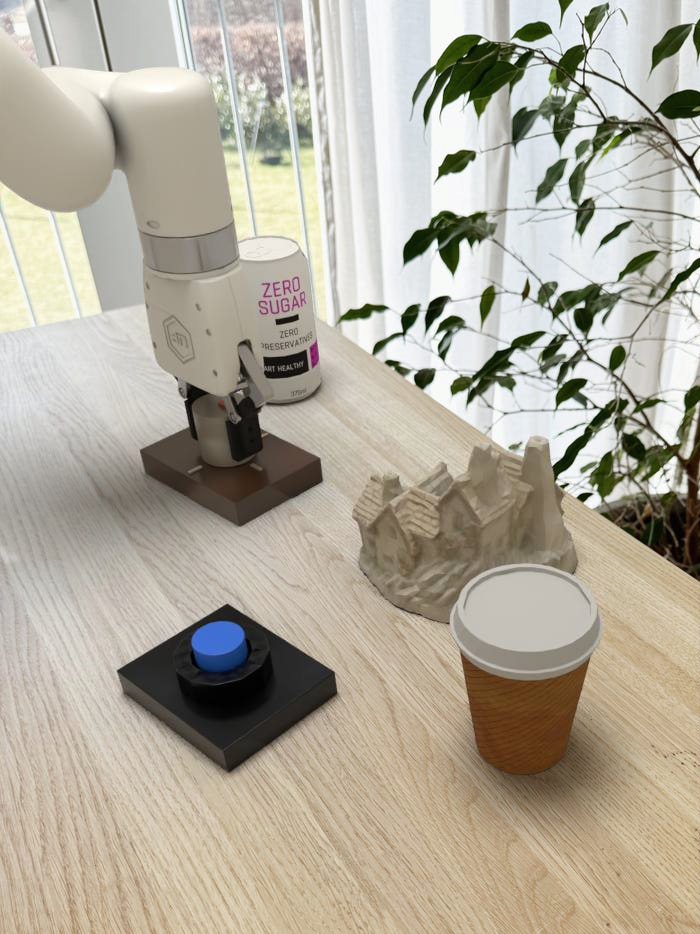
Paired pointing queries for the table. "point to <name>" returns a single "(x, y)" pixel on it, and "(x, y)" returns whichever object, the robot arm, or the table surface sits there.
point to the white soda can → (283, 314)
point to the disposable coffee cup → (525, 660)
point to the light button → (219, 646)
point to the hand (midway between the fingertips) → (227, 442)
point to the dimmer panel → (233, 475)
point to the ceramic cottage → (461, 526)
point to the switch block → (229, 690)
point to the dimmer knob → (214, 430)
